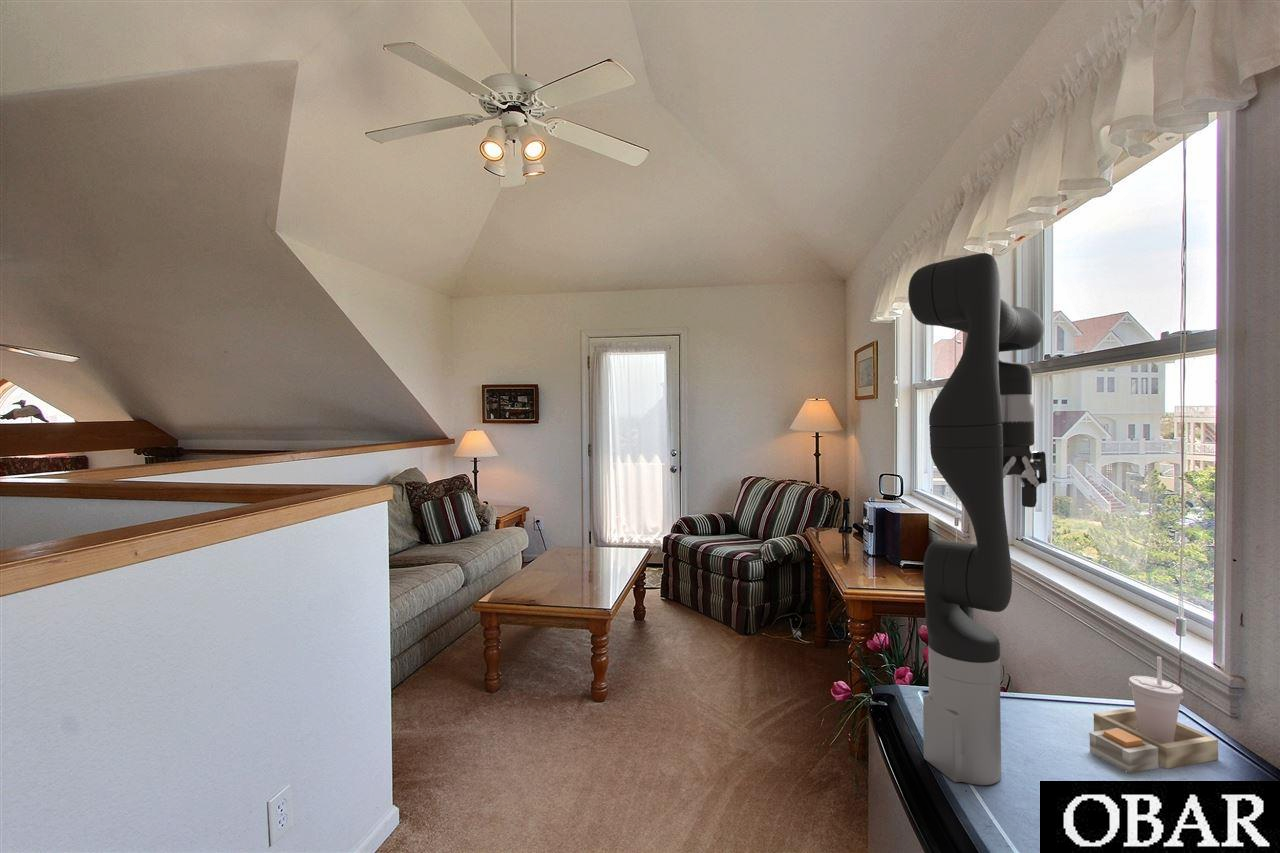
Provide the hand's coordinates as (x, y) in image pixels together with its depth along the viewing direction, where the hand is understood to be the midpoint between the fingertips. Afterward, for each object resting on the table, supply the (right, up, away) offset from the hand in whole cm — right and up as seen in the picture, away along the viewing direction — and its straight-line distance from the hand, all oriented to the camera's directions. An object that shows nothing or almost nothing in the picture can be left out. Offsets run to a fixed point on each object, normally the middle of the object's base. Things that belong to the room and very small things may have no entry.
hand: (1010, 507), depth 101 cm
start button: (+5, -35, -18) cm, 39 cm away
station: (+10, -36, -15) cm, 40 cm away
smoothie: (+14, -36, -14) cm, 41 cm away
